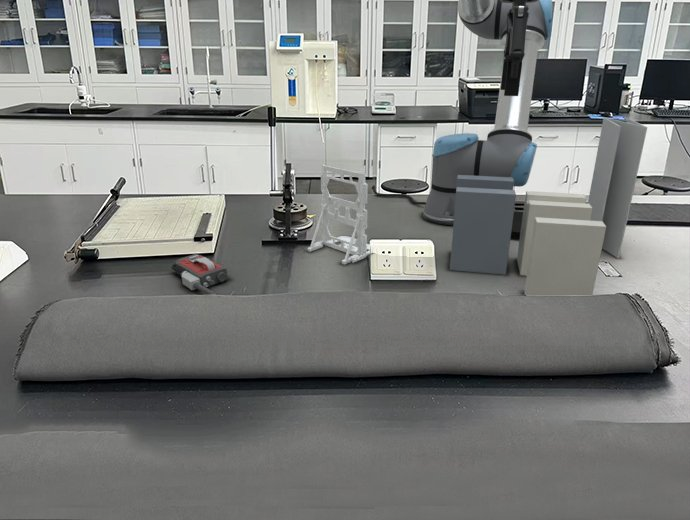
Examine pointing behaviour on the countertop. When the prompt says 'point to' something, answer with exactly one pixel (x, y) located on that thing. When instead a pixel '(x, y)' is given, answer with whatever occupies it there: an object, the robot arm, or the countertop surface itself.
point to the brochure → (615, 178)
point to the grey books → (482, 224)
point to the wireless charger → (516, 225)
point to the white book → (564, 256)
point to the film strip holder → (360, 224)
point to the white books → (547, 208)
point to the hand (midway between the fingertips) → (508, 92)
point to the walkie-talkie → (199, 272)
